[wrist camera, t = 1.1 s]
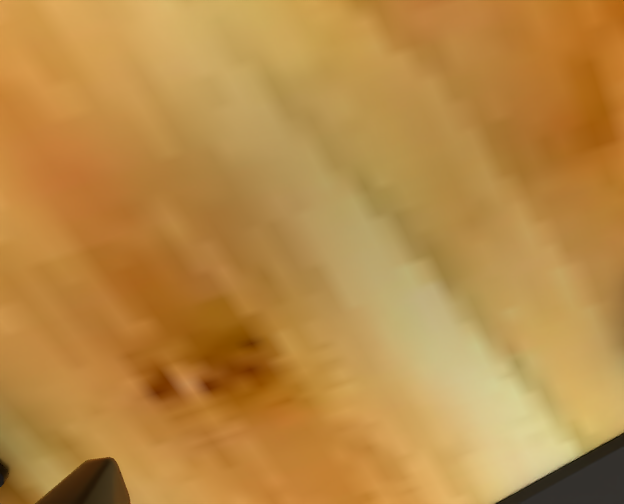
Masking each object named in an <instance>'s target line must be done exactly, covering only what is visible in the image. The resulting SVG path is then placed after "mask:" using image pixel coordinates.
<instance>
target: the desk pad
mask: <svg viewBox="0 0 624 504" xmlns="http://www.w3.org/2000/svg"><path fill="white" fill-rule="evenodd" d="M497 504H624V434H623V435H621V436H619V437H617V438H616V439H614V440H612V441H610V442H608V443H607V444H605V445H603V446H601V447H599V448H597V449H596V450H594V451H592V452H590V453H588V454H587V455H585V456H583V457H581V458H579V459H577V460H576V461H574V462H572V463H570V464H568V465H567V466H565V467H563V468H561V469H559V470H557V471H556V472H554V473H552V474H550V475H548V476H547V477H545V478H543V479H541V480H539V481H537V482H536V483H534V484H532V485H530V486H528V487H527V488H525V489H523V490H521V491H519V492H517V493H516V494H514V495H512V496H510V497H508V498H507V499H505V500H503V501H501V502H499V503H497Z"/></svg>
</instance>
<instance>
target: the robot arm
mask: <svg viewBox="0 0 624 504" xmlns="http://www.w3.org/2000/svg"><path fill="white" fill-rule="evenodd" d="M7 478H8V471H7V469H6V468H5V467H4V466H3V465H1V464H0V487H1V486H2V485H3V484H4V482H5V481H6V479H7ZM35 504H130V497H129V494H128V491H127V488H126V485H125V483H124V480H123V477H122V475H121V472H120V469H119V466H118V464H117V462H116V461H115V460H114V459H113V458H110V457H106V458H98V459H90V460H87V461H85V462H84V463H83V464H81V465H80V466H79V467H78V468H77V469H75V470H74V471H73V472H72V473H71V474H70V475H68V476H67V477H66V478H65V479H64V480H62V481H61V482H60V483H59V484H58V485H57V486H55V487H54V488H53V489H52V490H51V491H50V492H48V493H47V494H46V495H45V496H44V497H43V498H41V499H40V500H39V501H38V502H37V503H35Z"/></svg>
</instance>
